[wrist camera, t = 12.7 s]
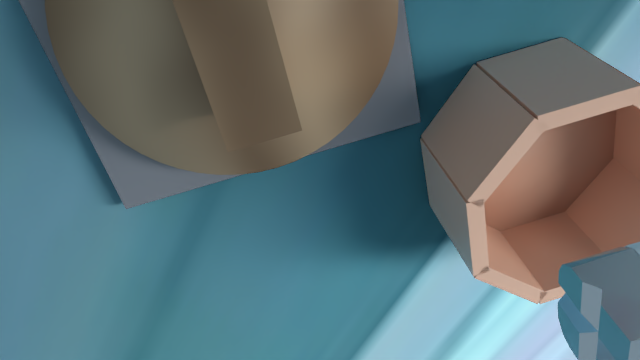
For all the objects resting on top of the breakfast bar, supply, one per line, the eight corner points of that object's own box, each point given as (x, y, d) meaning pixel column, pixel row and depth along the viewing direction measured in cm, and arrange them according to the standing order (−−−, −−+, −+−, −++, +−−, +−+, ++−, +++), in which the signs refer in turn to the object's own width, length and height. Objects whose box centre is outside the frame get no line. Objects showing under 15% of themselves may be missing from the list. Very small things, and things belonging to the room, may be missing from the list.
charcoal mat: (365, -242, 21) (369, -244, 21) (416, 116, 30) (420, 122, 29) (-44, -133, 21) (-50, -131, 20) (127, 202, 29) (125, 208, 28)
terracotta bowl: (625, 18, 29) (717, 62, 24) (611, 195, 35) (682, 259, 30) (411, 81, 28) (459, 139, 23) (435, 248, 35) (477, 323, 30)
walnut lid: (360, -221, 21) (399, -227, 17) (411, 116, 29) (445, 164, 25) (-24, -117, 21) (-72, -100, 17) (134, 198, 28) (125, 259, 24)
